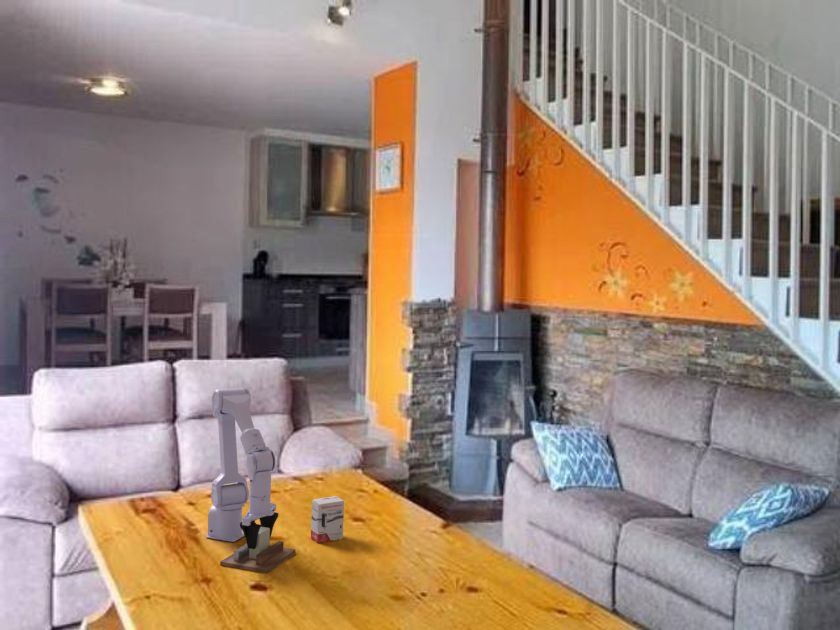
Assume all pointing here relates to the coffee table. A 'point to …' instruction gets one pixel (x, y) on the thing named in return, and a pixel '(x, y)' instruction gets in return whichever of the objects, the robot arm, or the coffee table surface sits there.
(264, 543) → the white rectangular block
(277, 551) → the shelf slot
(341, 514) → the ink box
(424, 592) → the coffee table surface
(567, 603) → the coffee table surface
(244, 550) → the grey bar
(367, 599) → the coffee table surface
